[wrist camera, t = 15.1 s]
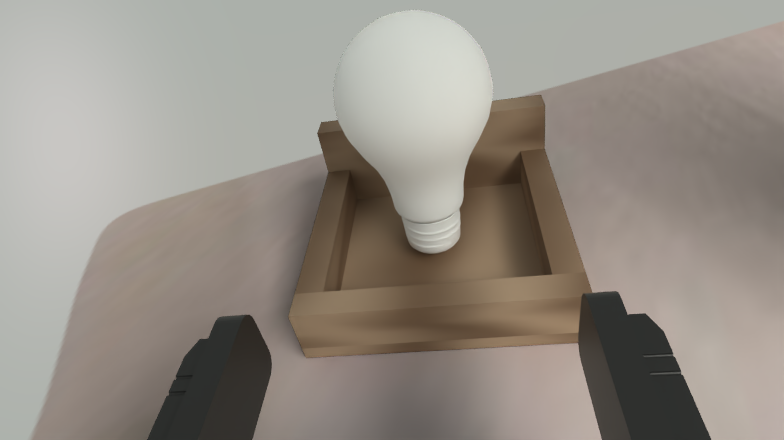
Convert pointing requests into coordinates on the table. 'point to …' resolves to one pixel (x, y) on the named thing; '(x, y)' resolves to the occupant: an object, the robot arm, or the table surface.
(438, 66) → the lightbulb
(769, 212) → the table surface
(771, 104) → the table surface
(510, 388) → the table surface
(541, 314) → the cradle
